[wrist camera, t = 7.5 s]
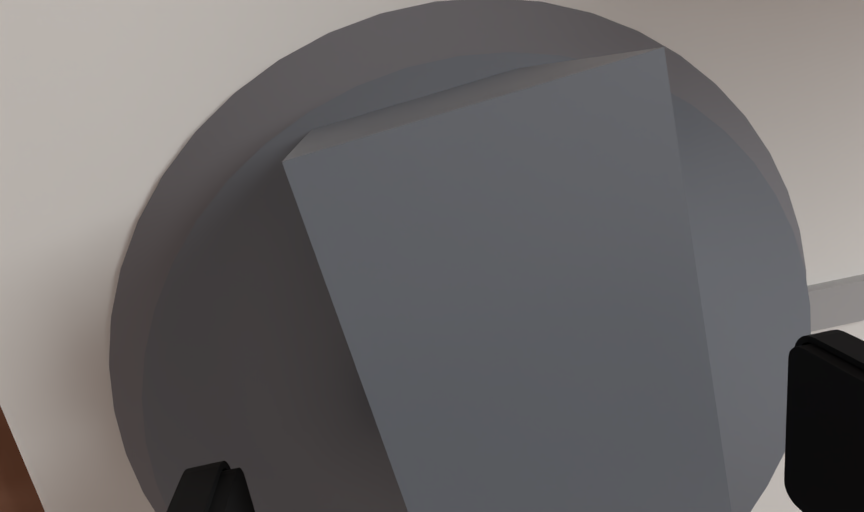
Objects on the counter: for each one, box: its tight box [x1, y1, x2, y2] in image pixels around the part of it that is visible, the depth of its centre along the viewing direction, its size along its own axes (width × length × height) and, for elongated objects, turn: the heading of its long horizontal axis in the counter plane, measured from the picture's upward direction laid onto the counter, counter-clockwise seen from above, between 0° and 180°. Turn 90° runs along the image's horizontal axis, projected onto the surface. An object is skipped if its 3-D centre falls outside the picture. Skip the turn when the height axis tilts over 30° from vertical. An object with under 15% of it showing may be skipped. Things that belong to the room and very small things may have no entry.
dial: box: [142, 47, 811, 512], centre depth 9 cm, size 13×13×6 cm
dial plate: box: [0, 0, 864, 512], centre depth 13 cm, size 19×19×2 cm
